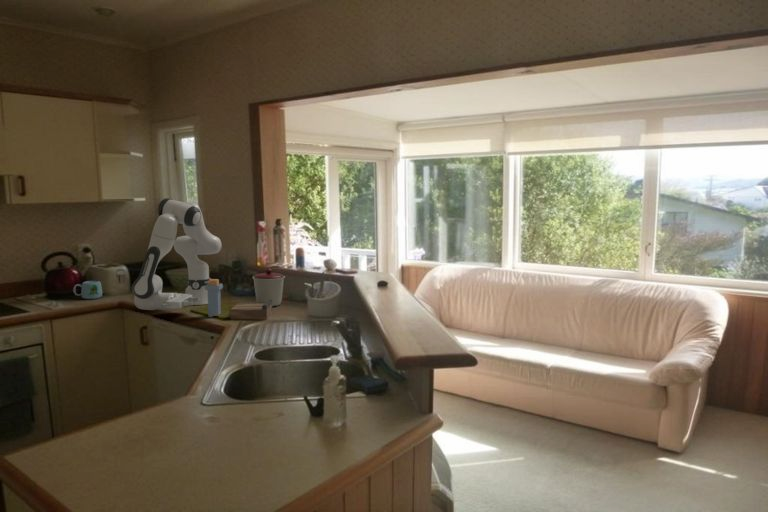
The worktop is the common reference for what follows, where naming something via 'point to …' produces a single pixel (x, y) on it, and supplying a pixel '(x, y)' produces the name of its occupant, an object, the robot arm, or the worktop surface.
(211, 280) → the cargo cube
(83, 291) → the mug
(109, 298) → the worktop surface
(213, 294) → the cargo post
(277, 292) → the canister
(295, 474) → the worktop surface
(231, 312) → the dock
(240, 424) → the worktop surface
